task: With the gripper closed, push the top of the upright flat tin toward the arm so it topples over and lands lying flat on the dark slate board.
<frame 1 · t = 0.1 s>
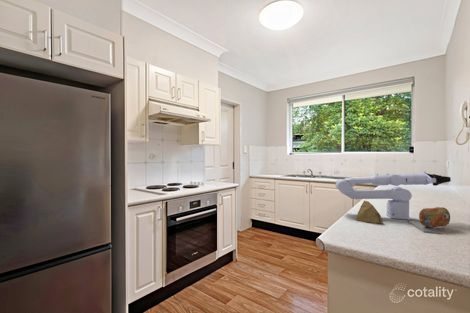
hand: (445, 178, 114), 22 cm above the counter, tool horizontal, fingers open, 7 cm apart
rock: (369, 222, 112), on the counter
slate board: (423, 227, 103), on the counter
tin: (434, 226, 102), point 1 cm above the counter, touching slate board
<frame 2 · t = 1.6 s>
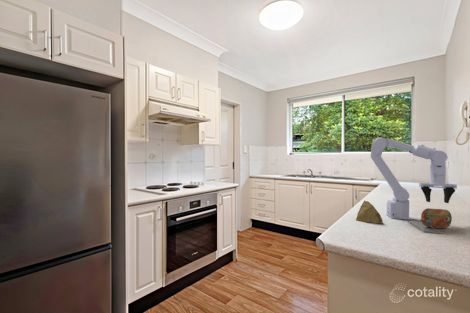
hand: (437, 202, 112), 10 cm above the counter, tool pointing down, fingers open, 7 cm apart
tin: (434, 227, 102), on the counter, touching slate board
everything else where it was.
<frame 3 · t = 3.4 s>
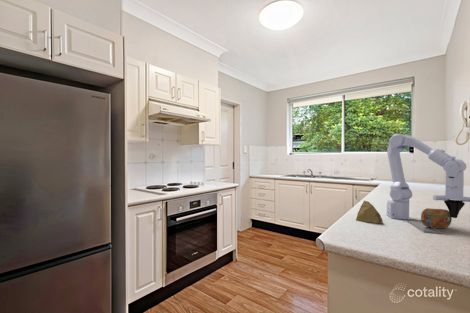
hand: (453, 217, 101), 6 cm above the counter, tool pointing down, fingers closed
tin: (434, 227, 102), on the counter, touching gripper, slate board
everything else where it was.
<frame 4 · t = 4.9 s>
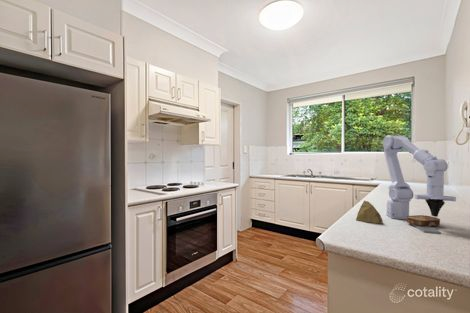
hand: (434, 216, 103), 6 cm above the counter, tool pointing down, fingers closed
tin: (432, 223, 103), point 2 cm above the counter, touching slate board
everything else where it was.
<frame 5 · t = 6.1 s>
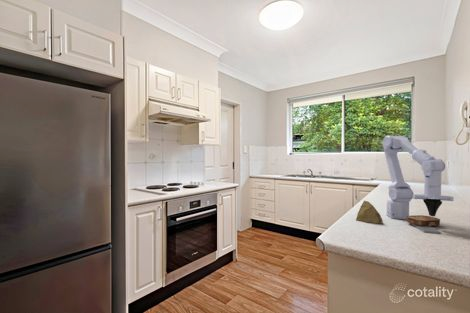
hand: (432, 215, 103), 6 cm above the counter, tool pointing down, fingers closed
nothing on the counter moved.
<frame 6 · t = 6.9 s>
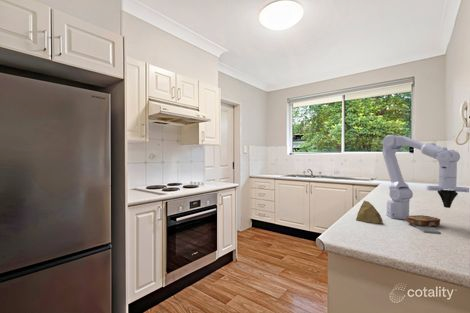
hand: (446, 207, 101), 10 cm above the counter, tool pointing down, fingers closed
nothing on the counter moved.
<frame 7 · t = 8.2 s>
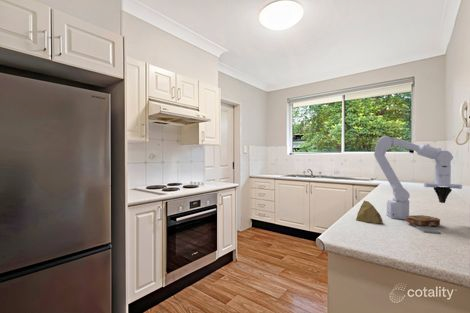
hand: (442, 202, 112), 10 cm above the counter, tool pointing down, fingers closed
nothing on the counter moved.
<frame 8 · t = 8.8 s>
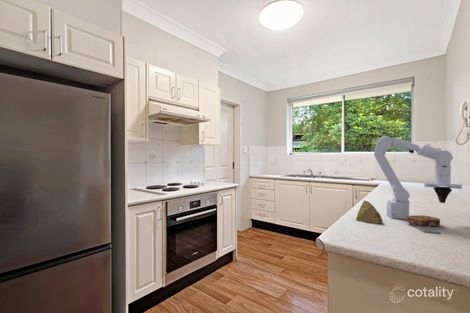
hand: (442, 202, 112), 10 cm above the counter, tool pointing down, fingers closed
nothing on the counter moved.
at the end: tin tilted 86°; tin inside the target area (1.4 cm from its centre), point 1.8 cm above the counter; the gripper is holding nothing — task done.
